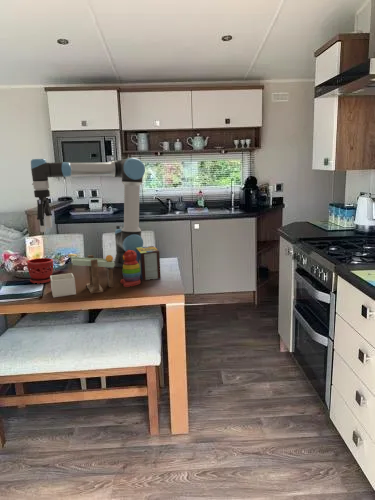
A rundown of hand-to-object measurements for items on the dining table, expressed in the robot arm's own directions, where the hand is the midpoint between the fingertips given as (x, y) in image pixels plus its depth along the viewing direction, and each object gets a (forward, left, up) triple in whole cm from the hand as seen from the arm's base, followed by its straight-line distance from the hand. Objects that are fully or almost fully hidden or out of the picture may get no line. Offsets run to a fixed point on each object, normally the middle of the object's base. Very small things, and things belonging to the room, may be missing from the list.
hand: (46, 229), depth 202 cm
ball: (-28, +25, -13) cm, 40 cm away
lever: (-19, +20, -16) cm, 32 cm away
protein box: (-50, +16, -28) cm, 60 cm away
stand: (-22, +25, -28) cm, 44 cm away
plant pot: (+5, -1, -28) cm, 29 cm away
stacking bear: (-38, +25, -28) cm, 54 cm away
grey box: (-4, +25, -28) cm, 38 cm away
